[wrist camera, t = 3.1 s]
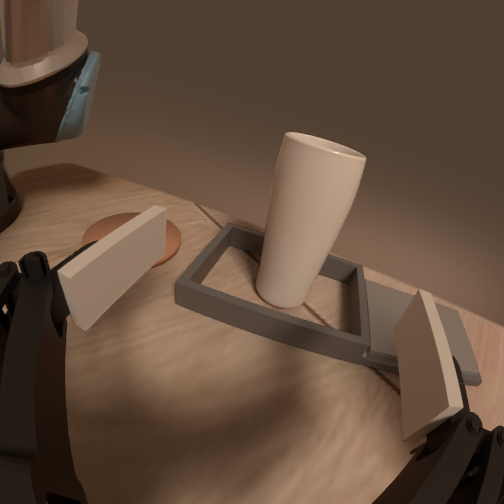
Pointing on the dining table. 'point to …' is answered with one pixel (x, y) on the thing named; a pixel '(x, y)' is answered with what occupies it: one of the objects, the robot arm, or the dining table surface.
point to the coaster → (115, 221)
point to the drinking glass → (305, 215)
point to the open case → (311, 334)
